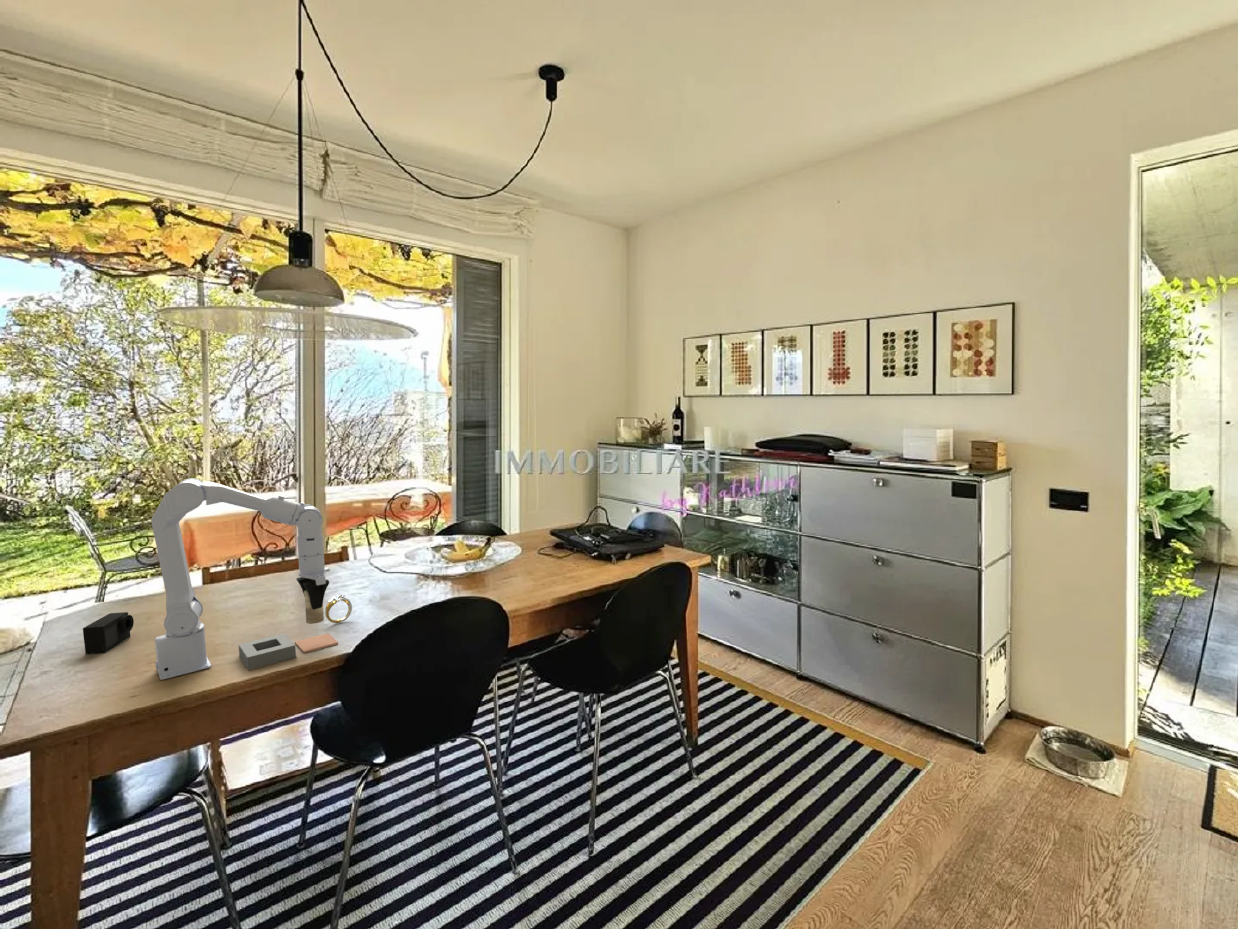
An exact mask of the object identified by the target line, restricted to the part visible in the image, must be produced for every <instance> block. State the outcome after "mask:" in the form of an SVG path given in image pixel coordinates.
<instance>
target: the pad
mask: <svg viewBox="0 0 1238 929" xmlns="http://www.w3.org/2000/svg"><path fill="white" fill-rule="evenodd" d="M294 644H295V646H296V647H298V649H299V650H300V651H301V652H302V653H303V654H306V653H307V654H308V653H310V652H314V651H318V650H323V649H325V648H328V647H333V646H336V645H339V642H338V641H337V639H335V638H334V636H332V635H331V634H330V633H328V632H327V633H323V634H319V635H316V636H312V637H308V638H304V639H301V640H296V641H295V642H294Z"/></svg>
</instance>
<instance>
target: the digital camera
mask: <svg viewBox="0 0 1238 929" xmlns="http://www.w3.org/2000/svg"><path fill="white" fill-rule="evenodd" d="M134 620H135V619H134V617H133V615H131V614H129V612H128V611H126V612H125V611H124V612H110V613H108V614H106V615H104V616H102V617H100V618H99V619H97V620H95V621H93V622H92V623H90V624H88V625H86V626H84V627H83V628H82V634H83V635H82V636H83V644H84V652H85V655H97V654H107V652H109V651H111V650H112V649H114V648H115V647H117V646H119V645H120V644H121V643H123V642H125V641H126V640H128V639H130V638H131V631H132V630H133V627H134Z"/></svg>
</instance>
